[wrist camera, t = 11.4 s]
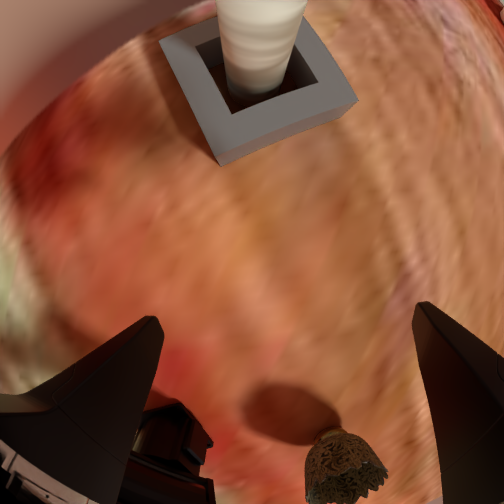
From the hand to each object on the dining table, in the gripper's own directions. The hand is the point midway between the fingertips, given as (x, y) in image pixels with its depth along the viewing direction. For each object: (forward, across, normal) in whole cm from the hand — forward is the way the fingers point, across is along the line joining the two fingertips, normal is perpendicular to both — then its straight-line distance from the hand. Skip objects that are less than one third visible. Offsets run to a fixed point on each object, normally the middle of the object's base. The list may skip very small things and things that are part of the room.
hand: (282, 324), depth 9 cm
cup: (+6, -2, +23) cm, 24 cm away
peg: (+16, +2, -9) cm, 18 cm away
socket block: (+16, +2, -9) cm, 18 cm away
